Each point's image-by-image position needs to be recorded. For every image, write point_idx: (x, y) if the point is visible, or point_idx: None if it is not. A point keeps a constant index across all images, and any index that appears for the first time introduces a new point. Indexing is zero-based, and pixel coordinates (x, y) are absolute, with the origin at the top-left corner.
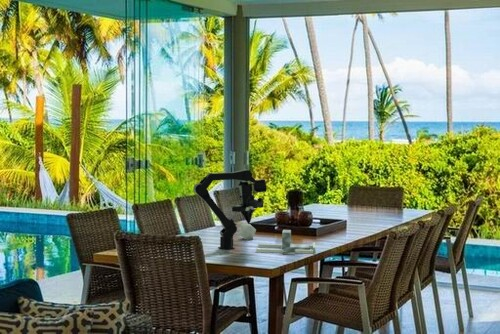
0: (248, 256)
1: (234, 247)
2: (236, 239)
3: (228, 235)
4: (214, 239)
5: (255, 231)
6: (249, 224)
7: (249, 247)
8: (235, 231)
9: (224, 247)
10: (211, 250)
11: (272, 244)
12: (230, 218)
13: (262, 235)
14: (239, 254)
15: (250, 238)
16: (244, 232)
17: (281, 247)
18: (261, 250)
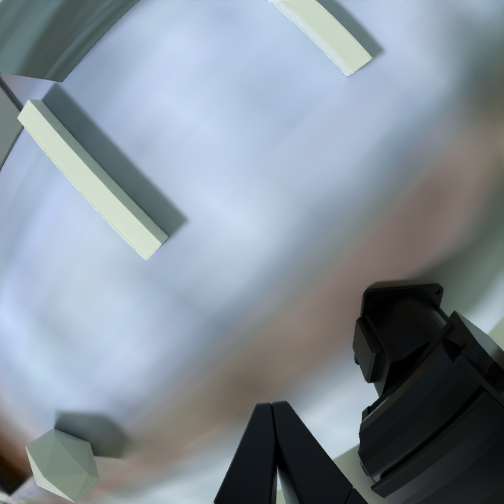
0: (496, 15)
1: (368, 295)
2: (125, 460)
3: (482, 334)
4: (210, 497)
5: (30, 443)
6: (41, 484)
7: (234, 267)
8: (448, 347)
9: (440, 308)
10: (489, 316)
11: (75, 163)
12: (493, 490)
13: (4, 429)
14: (500, 96)
15: (63, 432)
16: (84, 465)
17: (51, 112)
18: (336, 25)
